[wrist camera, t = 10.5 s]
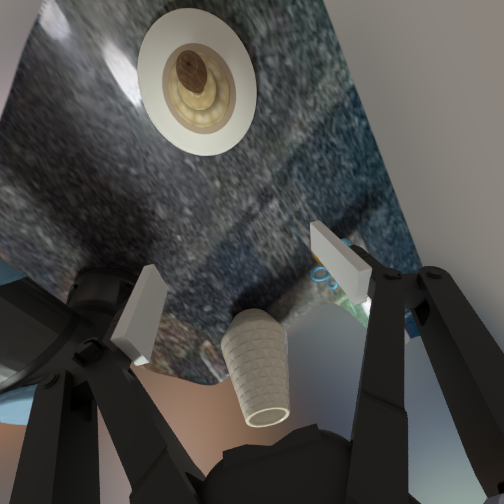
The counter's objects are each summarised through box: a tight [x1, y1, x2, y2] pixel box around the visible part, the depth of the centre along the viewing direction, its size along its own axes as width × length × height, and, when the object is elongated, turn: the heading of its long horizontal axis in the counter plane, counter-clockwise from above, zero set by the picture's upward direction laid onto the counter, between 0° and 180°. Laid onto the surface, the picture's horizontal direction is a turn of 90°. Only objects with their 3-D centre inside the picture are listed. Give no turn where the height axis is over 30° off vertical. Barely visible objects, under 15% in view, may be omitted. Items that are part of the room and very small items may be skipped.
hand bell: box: [168, 50, 230, 128], centre depth 22 cm, size 8×8×16 cm
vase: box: [221, 309, 290, 427], centre depth 49 cm, size 18×17×23 cm
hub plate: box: [138, 8, 257, 156], centre depth 29 cm, size 16×16×2 cm
